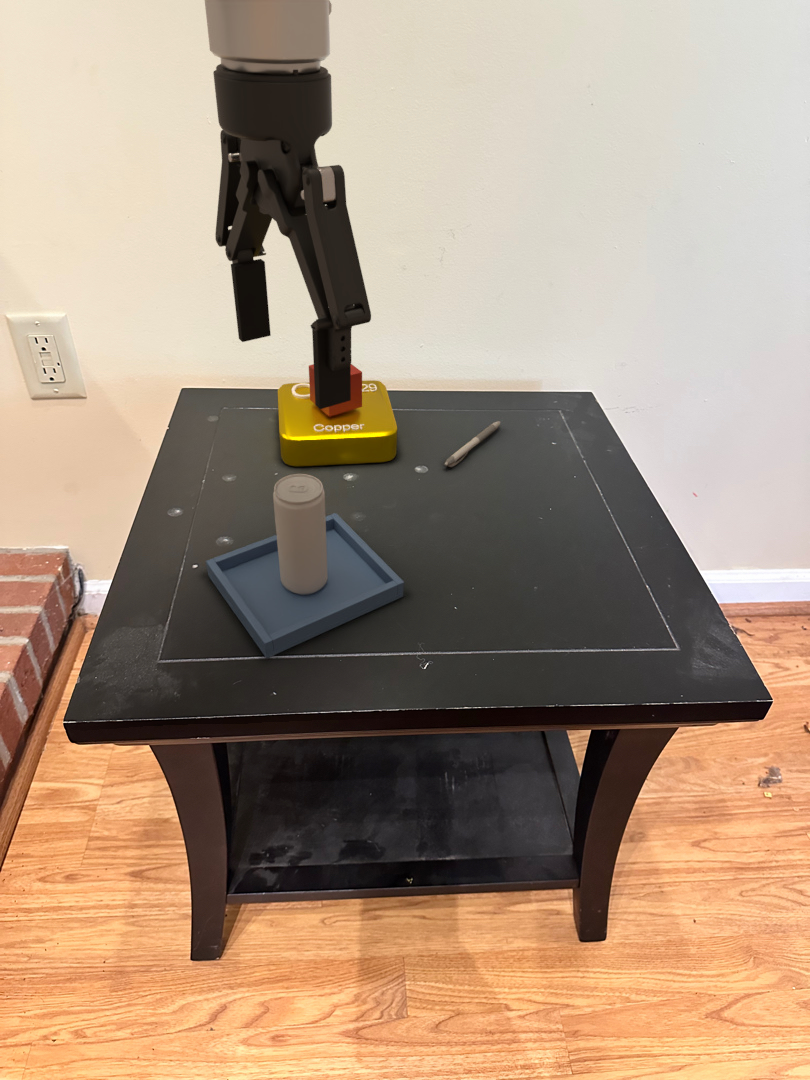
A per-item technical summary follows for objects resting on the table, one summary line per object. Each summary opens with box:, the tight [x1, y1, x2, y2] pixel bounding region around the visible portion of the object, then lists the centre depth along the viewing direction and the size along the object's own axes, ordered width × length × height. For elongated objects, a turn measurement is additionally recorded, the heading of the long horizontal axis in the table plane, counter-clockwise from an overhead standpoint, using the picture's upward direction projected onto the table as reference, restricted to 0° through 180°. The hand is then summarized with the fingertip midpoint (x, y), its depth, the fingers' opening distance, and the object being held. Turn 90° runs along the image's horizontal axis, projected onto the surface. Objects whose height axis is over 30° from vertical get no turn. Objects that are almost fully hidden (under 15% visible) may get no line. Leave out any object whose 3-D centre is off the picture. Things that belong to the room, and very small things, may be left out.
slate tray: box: [205, 512, 405, 659], centre depth 75 cm, size 16×14×2 cm
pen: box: [444, 420, 501, 468], centre depth 98 cm, size 1×14×1 cm, turn 144°
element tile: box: [277, 379, 398, 468], centre depth 98 cm, size 15×15×5 cm
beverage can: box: [272, 473, 328, 595], centre depth 72 cm, size 5×5×12 cm
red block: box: [308, 363, 363, 417], centre depth 94 cm, size 5×5×5 cm
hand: (291, 368), depth 60 cm, fingers open, 13 cm apart
